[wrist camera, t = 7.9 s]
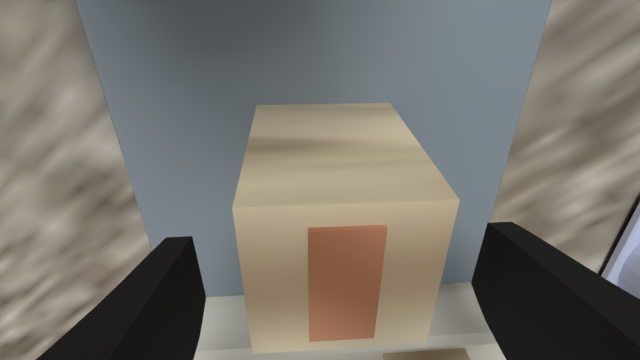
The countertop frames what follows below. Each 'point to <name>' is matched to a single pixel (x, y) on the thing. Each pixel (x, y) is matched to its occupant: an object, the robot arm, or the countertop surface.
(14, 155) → the countertop surface
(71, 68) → the countertop surface
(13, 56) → the countertop surface
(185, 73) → the slate pad
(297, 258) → the labelled block
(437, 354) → the plain block
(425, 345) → the parts tray
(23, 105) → the countertop surface
